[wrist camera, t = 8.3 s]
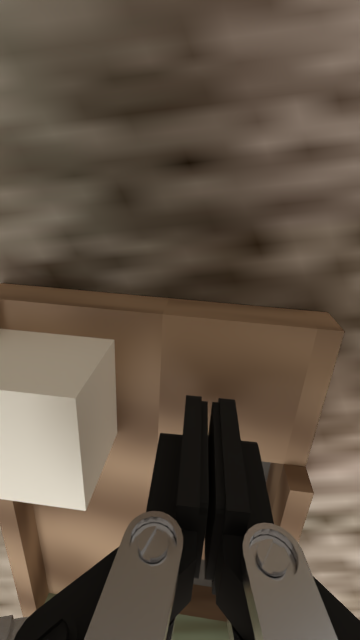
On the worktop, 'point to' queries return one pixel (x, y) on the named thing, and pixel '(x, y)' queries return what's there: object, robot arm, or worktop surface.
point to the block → (55, 416)
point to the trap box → (172, 420)
